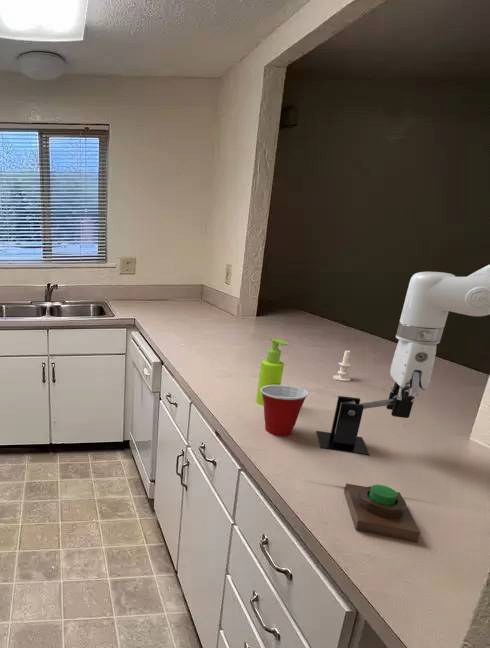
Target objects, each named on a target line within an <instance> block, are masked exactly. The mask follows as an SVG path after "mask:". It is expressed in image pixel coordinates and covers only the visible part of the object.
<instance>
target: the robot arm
mask: <svg viewBox="0 0 490 648" xmlns="http://www.w3.org/2000/svg"><path fill="white" fill-rule="evenodd" d="M407 287H408V288H407V291H406V295H405V299H404V303H403V307H402V310H401V314H400V319H399V322H398V326H397V330H396V334H395V338H396V339H397V340H398V341H397V345H396V347H395V350H394V355H393V358H392V360H391V361H392V362H391V365H390V370H389V374H390V377H391V378H392V379H393V380H392V384H391V387H390V392H389V396H388V399H392V398H393V397H394V396H395V395H396V394H398V398H397V399H395V402H394V405H388V406H386V409H387V410H390V411H391V414H390V415H391V416H392V417H396V418H403V419H404V418H405V419H409V418H410V415H411V412H412V408H413V404H414V402H415V399H416V397H418V396H419V393H420V391H419V390H420V389H421V390H422V391H426V390H428V389H429V386H430V382H431V378H432V375H433V370H434V367H435V366H434V365H435V360H436V355H437V345H438V344H440V343H441V339H442V336H443V333H444V330H445V326H446V322H447V319H448V316H449V313H450V312H451V313H455V314H461V315H465V316H469V317H486V316H489V315H490V264H488V265H485V266H484V267H481V268H480V269H478V270H476V271H474V272H472V273H471V274H469V275H467V276H456V275H455V274H453V273H449V272H441V271H419V272H416V273H414V274H413V275H412V276H411V277H410V280H409V283H408V286H407Z"/></svg>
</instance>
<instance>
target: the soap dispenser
mask: <svg viewBox="0 0 490 648" xmlns="http://www.w3.org/2000/svg"><path fill="white" fill-rule="evenodd" d="M269 341H270V342H272V343H271V348H269V349H267V354H266V359H263V360H261V361H260V362H261V363H260V368H259V369H260V370H259V377H258V384H257V385H258V386H257V392H256V398H255V403H257V404H258V405H261V406H263V407H264V401H263V397H262V393H261V392H260V389H261V388H262V387H264V386H269V385H282V378H283V372H284V366H285V363H284V362H282V361H281V354H282V351H281V349H279V345H280V346H288V345H289V343H288V342H287V341H286V340H284V339H282V338H277V337H272V338H269Z"/></svg>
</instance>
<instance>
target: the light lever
mask: <svg viewBox="0 0 490 648" xmlns="http://www.w3.org/2000/svg"><path fill="white" fill-rule="evenodd" d="M397 398H398V394H396V395H395V396H394V397H393V398H392V399H389V398H387V399H381V400H376V401H375V400H374V401H368V402H360V404H361V405H364V409H363V410H365V409H373V408H379V407H387V406H388V405H394V402H395V399H397ZM344 403H353V404H356V403H355V401H349V402H344Z"/></svg>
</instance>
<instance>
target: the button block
mask: <svg viewBox="0 0 490 648" xmlns="http://www.w3.org/2000/svg"><path fill="white" fill-rule="evenodd" d="M371 486H372V485H371ZM371 486H364V485H357V484H352V483H347V482H346V483H345V487H344V491H343V493H344V494H343V495H344V497H345V498H344V499H345V500H346V504H347V507H348V510H349V514H350V517H351V520H352V524H353V526H354V530H355V532H360V533H361V532H362V533H366V534H371V535H376V536H380V537H386V538H390V539H396V540H401V541H406V542H410V543H415V544H418V541H419V538H420V536H421V531H420V529H419V526H418V525H417V523H416V521H415V519H414V517H413V515H412V514H411V511H410V509H409V508H408V507H409V506H407V503H406V500H405V499H404V498H403V496H402V494H401V492H398V491H396V492H397V494H398V496H397V499H396V503H395V504H394V505H384V504H380V503H378V502H376V501H373V500H372V499H371V498H370V497H369V493H370V489H371Z"/></svg>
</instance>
